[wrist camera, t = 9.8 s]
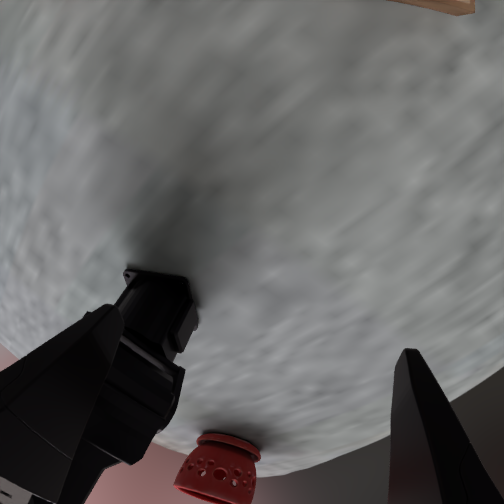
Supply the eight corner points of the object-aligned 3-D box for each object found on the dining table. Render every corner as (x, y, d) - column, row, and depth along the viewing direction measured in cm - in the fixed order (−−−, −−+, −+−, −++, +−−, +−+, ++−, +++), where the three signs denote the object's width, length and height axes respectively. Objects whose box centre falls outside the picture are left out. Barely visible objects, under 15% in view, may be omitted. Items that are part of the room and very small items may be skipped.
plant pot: (209, 420, 45) (186, 487, 36) (279, 448, 47) (264, 511, 38) (183, 434, 53) (163, 488, 44) (243, 458, 55) (228, 510, 45)
